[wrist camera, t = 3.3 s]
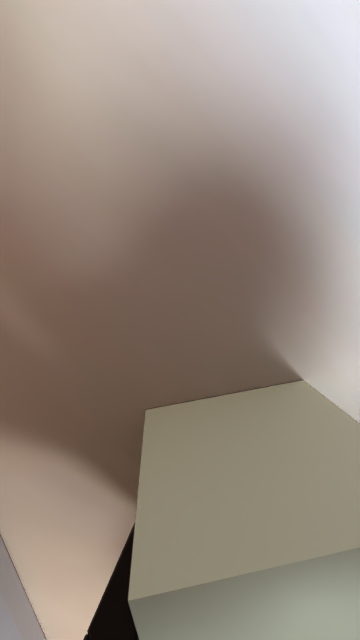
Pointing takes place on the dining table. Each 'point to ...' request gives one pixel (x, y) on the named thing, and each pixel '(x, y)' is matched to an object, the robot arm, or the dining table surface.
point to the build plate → (15, 604)
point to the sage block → (248, 519)
